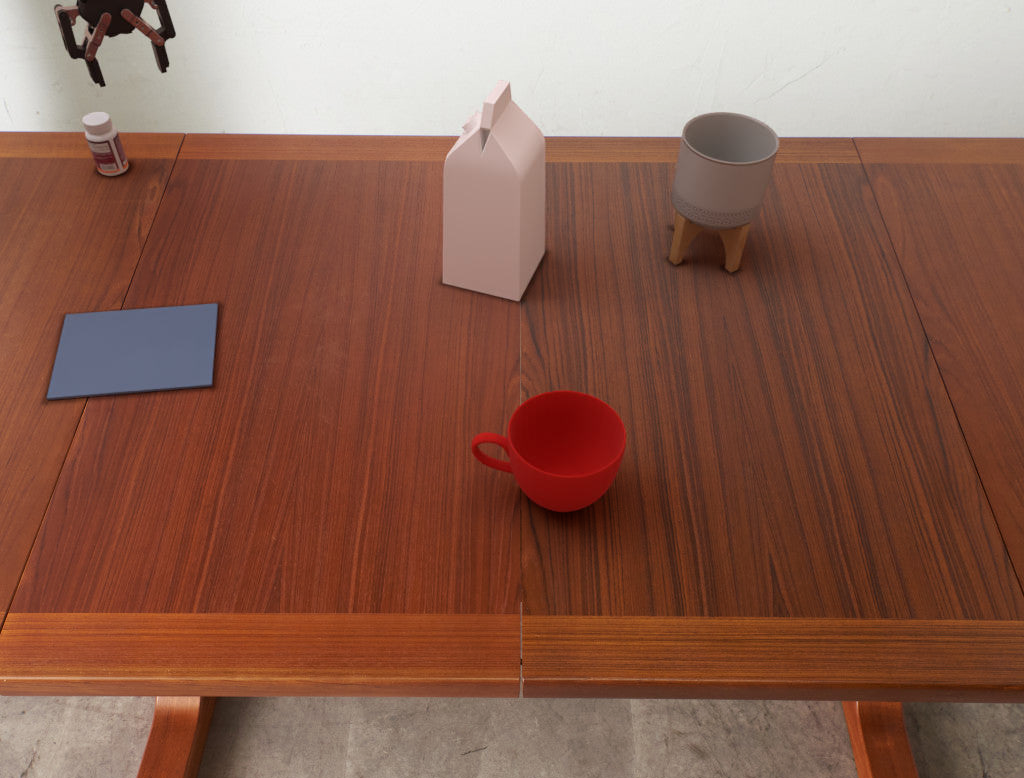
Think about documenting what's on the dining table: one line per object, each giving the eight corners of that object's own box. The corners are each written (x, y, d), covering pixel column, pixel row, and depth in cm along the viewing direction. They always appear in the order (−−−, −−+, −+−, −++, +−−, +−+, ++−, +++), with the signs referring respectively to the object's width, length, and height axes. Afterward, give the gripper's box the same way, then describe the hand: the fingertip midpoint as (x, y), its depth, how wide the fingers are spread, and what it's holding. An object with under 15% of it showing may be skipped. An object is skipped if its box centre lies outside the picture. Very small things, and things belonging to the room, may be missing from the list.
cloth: (47, 400, 112) (46, 398, 111) (66, 316, 121) (65, 314, 121) (212, 386, 114) (211, 384, 114) (218, 305, 124) (217, 303, 123)
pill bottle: (115, 157, 145) (98, 106, 139) (135, 167, 144) (118, 116, 137) (91, 169, 143) (72, 119, 136) (111, 180, 141) (93, 129, 135)
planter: (766, 256, 134) (799, 145, 120) (701, 286, 129) (728, 173, 115) (707, 213, 140) (733, 102, 126) (644, 240, 136) (662, 128, 122)
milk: (519, 301, 126) (526, 124, 105) (442, 283, 128) (435, 106, 108) (544, 252, 133) (556, 78, 113) (471, 235, 135) (470, 61, 115)
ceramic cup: (475, 445, 109) (474, 385, 101) (613, 451, 109) (624, 392, 101) (468, 530, 101) (467, 473, 93) (618, 536, 101) (629, 480, 93)
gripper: (141, -71, 117) (173, 55, 130) (27, -52, 112) (73, 77, 125) (159, -50, 113) (191, 78, 126) (42, -30, 108) (88, 101, 121)
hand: (132, 77), depth 126 cm, fingers open, 8 cm apart
